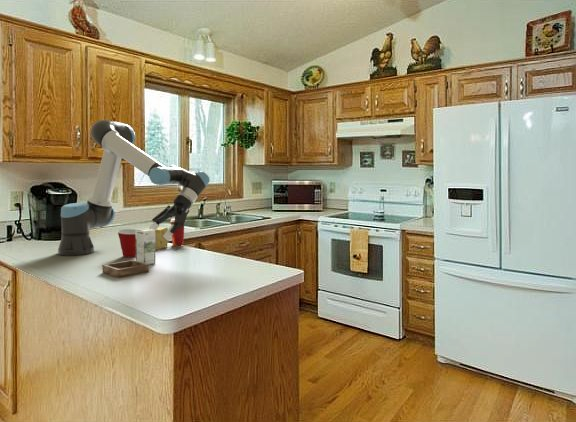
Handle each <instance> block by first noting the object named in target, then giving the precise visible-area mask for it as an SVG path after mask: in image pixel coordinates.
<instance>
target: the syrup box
mask: <svg viewBox="0 0 576 422" xmlns="http://www.w3.org/2000/svg"><path fill="white" fill-rule="evenodd" d="M141 229H142V230H141ZM141 229H136V231H135V237H136V256H135V261H137V262H141V263H145V264H149V266H150V265H155V264H156V249H155V230H153V229H146V228H141Z"/></svg>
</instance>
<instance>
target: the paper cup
mask: <svg viewBox="0 0 576 422" xmlns="http://www.w3.org/2000/svg"><path fill="white" fill-rule="evenodd" d="M174 221H175V217H174V218H171V219H170V226H171V225H172V224H173V223H174ZM173 225H174V224H173ZM184 237H185V225H184V226H183V227H179V228H177V230H176V231H175V232H174V233H173V235H172V236H171V242H172V246H175V247H176V246H177V247H178V246H183V245H184V240H185V239H184Z"/></svg>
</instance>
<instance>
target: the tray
mask: <svg viewBox="0 0 576 422" xmlns="http://www.w3.org/2000/svg"><path fill="white" fill-rule="evenodd" d="M101 266H102V267H101V268H102V274H104V275H108V276H110V277H115V278H117V279H121V278H127V277H132V276H137V275H141V274H142V275H143V274H147V273H150V271H149V269H150V267H149V266H150V265H149V264H145V263H141V262H137V261H136V260H134V259H130V260H126V261H117V262H113V263H106V264H102V265H101Z"/></svg>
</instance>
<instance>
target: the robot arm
mask: <svg viewBox="0 0 576 422" xmlns="http://www.w3.org/2000/svg"><path fill="white" fill-rule="evenodd" d="M90 135H91V138H92V140H93V141H94V142H95V143H96V144H97V146H100V147H101V149H102V150H103V153H102V156H101V161H100V166H99V168H98V172H97V176H96V181H95V184H94V187H93V192H92V196H90V197H88V198H87V202H75V203H74V202H73V203H68V204H64V205H62V206H61V207H60V223H61V239H60V242H59V246H58V248H57V255H60V256H70V257H71V256H81V255H89V254H92V253H93V254H94V252H95V246H94V244H93V241H92V239H91V238H92V237H91V236H90V229H97V228H103V227H107V226H109V225H110V224H112V223H113V222H114V219H115V215H116V211H115V209H114V207H113V205H114V203H113V202H112V197H113V194H114V189H115V187H116V186H115V185H116V181H117V177H118V173H119V169H120V166H121V163H122V159H123V160H124V161H125V162H127V163H129V164H130V165H131V166H133V167H134V168H135V169H138V170H139V171H140V172H142V173H143V174H144V175H147V177H149V180H150V181H151V183H152V184H154V185H158V186H166V185H167V186H169V185H177V186H180V187H182V189H181V191H179V193H178V194H177V196H176V197H175V198H174V200H173V205H171V206H170V205H169V204H168V205H167V206H166V207H165V208H164V209H163V210H162V211H160V212H159V213H158V214H157V215H156V216H155V217H153V218H152V224H151V225H150V226H149V227H148V228H149V229H153V230H156V229H157V228H160V225H161V224H162V223H164V222H165V221H167V220H168V219H170V218H171V219H173V217H174V218H175V221H174V223H173V224H174V225H173V224H172V225H171V224H170V226H169V228H168V230H167V232H166V233H165V234H164V236H163V237H164V238H165V239H166V240H168V241H169V240H170V239H171V238H172V235H173V233H174V232H175V231H176V230H177V228H179V227H183V226H184V227H185V222H186V220H187V217H188V214H189V213H190V208H191V207H192V205H194V203H195V202H196V200H197V199H198V198H199V196H200V195H201V194H202V192H204V190H205V189H206V188H207V186H208V185H209V183H210V176H209V175H208V174H207V173H206V172H204V171H202V170H197V171H196V172H195V173H194V172H191V171H188V170H186V169H184V168H181V167H180V166H176V165H174V164H171V165H170V166H168V167H167V166H165V165H163V164H162V163H160V162H159V161H157V160H156V159H155V158H153V157H151V156H150V155H149V154H147V153H145V151H143V150H141V149H140V148H138V147H137V146H135V145H134V144H135V143H136V134H135V131H134V129H133V128H132V127H131V126H130V125H128V124H126V123H123V122H119V121H113V120H107V119H101V120H97V121H96V122H94V123H93V124H92V126H91V128H90Z"/></svg>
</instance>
